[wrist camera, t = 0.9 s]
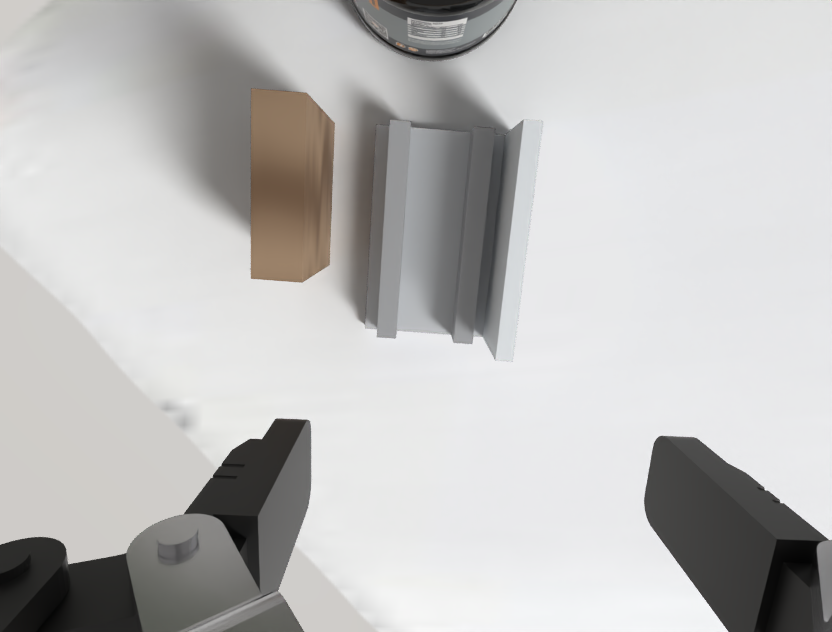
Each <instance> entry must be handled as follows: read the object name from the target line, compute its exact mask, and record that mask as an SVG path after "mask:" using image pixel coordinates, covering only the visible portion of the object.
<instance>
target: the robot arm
mask: <svg viewBox="0 0 832 632" xmlns="http://www.w3.org/2000/svg"><path fill="white" fill-rule="evenodd" d="M310 491H311V425H310V421H309V420H300V419H275V421H274V422H273V424H272V425H271V427H270V428H269V430H268V431H267V433H266V434H265V436H264V437H263V439H249V440H248V441H246V442H244V443H243V444H241V445H239V446H238V447H236V448H235V449H233V450H232V451H231V452H230V453H229V455H228V456H227V457H226V459H225V460H224V461H223V463H222V466H220V467H219V468H218V469H217V471H216V472H215V473H214V475H213V478H211V479H210V480H209V481H208V483H207V484H206V485H205V487H204V488H203V489H202V491H201V492H200V493H199V495H198V496H197V497H196V498H195V500H194V501H193V502H192V504H191V505H190V506H189V508H188V509H187V510H186V512H185V513H184V514H183V515H179V516H174V517H171V518H168V519H165V520H163V521H160V522H158V523H156V524H154V525H152V526H150V527H148V528H147V529H145V530H144V531H143V532H141V533H140V534H139V535H138V536H137V537H136V538H135V539H134V540H133V541H132V543H131V544H130V546H129V548H128V550H127V553H125V554H122V555H117V556H113V557H107V558H101V559H96V560H91V561H85V562H79V563H73V564H68V561H67V554H66V548H65V546H64V544H63V543H61V542H60V541H58V540H56V539H52V538H46V537H34V538H25V539H20V540H15V541H11V542H9V543H5V544H1V545H0V632H304V631H303V629H302V627H301V626H300V624H299V622H298V621H297V619H296V617H295V616H294V614H293V612H292V610H291V609H290V607H289V606H288V604H287V602H286V600H285V599H284V597H283V596H282V595H281V594H280V593H279V592H278V590H279V587H280V584H281V581H282V578H283V576H284V573H285V570H286V567H287V564H288V562H289V559H290V556H291V553H292V550H293V548H294V545H295V542H296V539H297V537H298V534H299V531H300V528H301V526H302V523H303V520H304V517H305V514H306V512H307V508H308V504H309V499H310ZM644 504H645V512H646V516H647V519H648V521H649V523H650V525H651V527H652V528H653V529H654V531H655V532H656V534H657V535H658V536H659V538H660V539H661V540H662V542H663V543H664V544H665V546H666V547H667V549H668V550H669V551H670V553H671V554H672V555H673V557H674V558H675V559H676V561H677V562H678V563H679V565H680V566H681V568H682V569H683V570H684V572H685V573H686V574H687V576H688V577H689V578H690V580H691V581H692V582H693V584H694V585H695V587H696V588H697V589H698V591H699V592H700V593H701V595H702V596H703V597H704V599H705V600H706V602H707V603H708V604H709V606H710V607H711V608H712V610H713V611H714V612H715V614H716V615H717V616H718V618H719V619H720V621H721V622H722V623H723V625H724V626H725V627H726V629H727V630H728V631H729V632H832V540H828V539H827V538H826V537H825V536H823V535H822V534H821V533H820V532H818V531H817V530H816V529H815V528H814V527H812V526H811V525H810V524H809V523H807V522H806V521H805V520H804V519H802V518H801V517H800V516H799V515H797V514H796V513H795V512H794V511H792V510H791V509H790V508H789V507H787V506H786V505H785V504H784V503H780V500H779V499H778V498H776V497H775V496H774V495H773V494H771V493H770V492H769V491H765V490H764V487H763V486H761V485H760V484H759V483H758V482H757V481H755V480H754V479H753V478H752V477H750V476H749V475H748V474H747V473H745V472H743V471H741V470H739V469H737V468H736V467H734V466H732V465H730V464H728V463H726V462H725V461H724V460H723V459H722V458H720V457H719V456H718V455H717V454H715V453H714V452H713V451H712V450H711V449H709V448H708V447H707V446H706V445H705V444H703V443H702V442H701V441H700V440H698V439H697V438H694V437H674V436H660V437H658V438H657V439H656V441H655V443H654V446H653V451H652V457H651V462H650V468H649V474H648V480H647V485H646V491H645V498H644Z"/></svg>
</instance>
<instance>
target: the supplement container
mask: <svg viewBox="0 0 832 632" xmlns="http://www.w3.org/2000/svg"><path fill="white" fill-rule="evenodd" d="M516 1H517V0H351V2H352V5H353V7H354V9H355V11H356V13H357V14H358V16H359V18H360V20H361V21H362V22H363V24H364V25H365V26H366V28H367V29H368V30H369V31H370V32H371V33H372V34H373V36H374V37H376V38H377V39H378V40H379V41H380V42H381V43H383V44H384V45H385V46H387V47H388V48H390V49H391V50H393V51H395V52H397V53H399V54H401V55H403V56H406V57H409V58H412V59H417V60H422V61H444V60H450V59H454V58H457V57H460V56H463V55H465V54H468V53H469V52H471V51H473V50H475V49H477V48H478V47H480V46H481V45H483V44H484V43H485V42H486V41H488V40H489V39H490V38H491V37H492V36H493V35H494V34H495V33H496V32H497V31H498V30H499V29H500V27H501V26H502V25H503V23H504V22H505V21H506V19H507V18H508V16H509V14H510V13H511V11H512V9H513V7H514V5H515V3H516Z"/></svg>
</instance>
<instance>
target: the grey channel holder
mask: <svg viewBox="0 0 832 632" xmlns="http://www.w3.org/2000/svg"><path fill="white" fill-rule="evenodd" d="M542 127H543V121H540V120H528V119H524V120H522V121H521V122H520V123H519V124H518V125H516V126H515V127H514V128H513V129H512V130H510V131H509V132H508V133H507V134H506V135H500V134H495V128H487V127H474V128H473V129H472V131H471V132H464V131H451V130H439V129H427V128H415V127H411V121H401V120H390V125H378V124H376V138H375V156H374V175H373V193H372V211H371V229H370V248H369V266H368V284H367V302H366V321H365V328H367V329H377V337H382V338H396V333H397V331H408V332H421V333H435V334H449V335H451V336H452V339H453V342H454V343H464V344H472V343H473V336H476V337H483V338H484V340H485V342H486V344H487V346H488V348H489V350H490V351H491V353H492V355H493V357H494V359H495V361H507V362H513V356H514V349H515V341H516V333H517V325H518V317H519V309H520V301H521V293H522V285H523V277H524V269H525V261H526V254H527V246H528V238H529V230H530V222H531V214H532V206H533V198H534V190H535V182H536V174H537V166H538V159H539V151H540V143H541V135H542Z"/></svg>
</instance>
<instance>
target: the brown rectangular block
mask: <svg viewBox="0 0 832 632" xmlns="http://www.w3.org/2000/svg"><path fill="white" fill-rule="evenodd" d="M334 129H335V123H334V122H333V121H332V120H331V119H330V118H329V117H328V115H327V114H326V113H325V112H324V111H323V110H322V109H321V108H320V107H319V106H318V105H317V104H316V102H315V101H314V100H313V99H312V98H311V97H310V96H309V95H308V94H307V93H301V92H289V91H277V90H265V89H253V88H251V279H263V280H276V281H289V282H304V281H305V280H307V279H308V278H310V277H311V276H313V275H315V274H316V273H318V272H319V271H321V270H322V269H324V268H325V267H327V266H329V265H330V237H331V210H332V183H333V156H334Z"/></svg>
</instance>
